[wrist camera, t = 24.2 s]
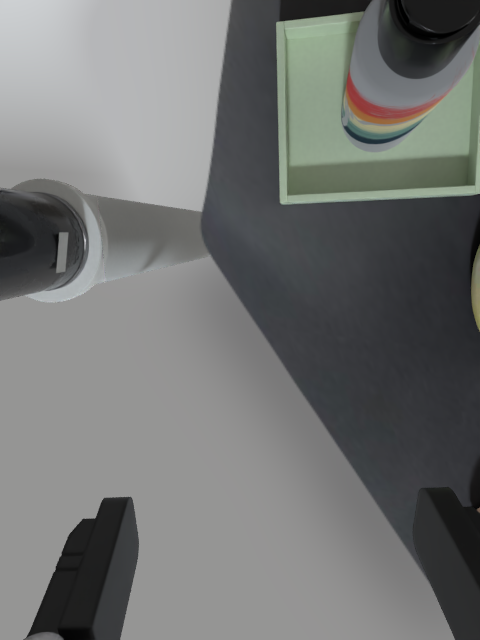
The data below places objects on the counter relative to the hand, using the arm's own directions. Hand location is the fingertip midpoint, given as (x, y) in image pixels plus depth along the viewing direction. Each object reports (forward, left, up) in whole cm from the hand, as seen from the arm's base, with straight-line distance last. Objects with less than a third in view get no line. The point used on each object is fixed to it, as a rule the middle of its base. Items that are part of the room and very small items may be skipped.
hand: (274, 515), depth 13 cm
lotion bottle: (+6, +16, -28) cm, 33 cm away
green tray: (+6, +17, -29) cm, 34 cm away
